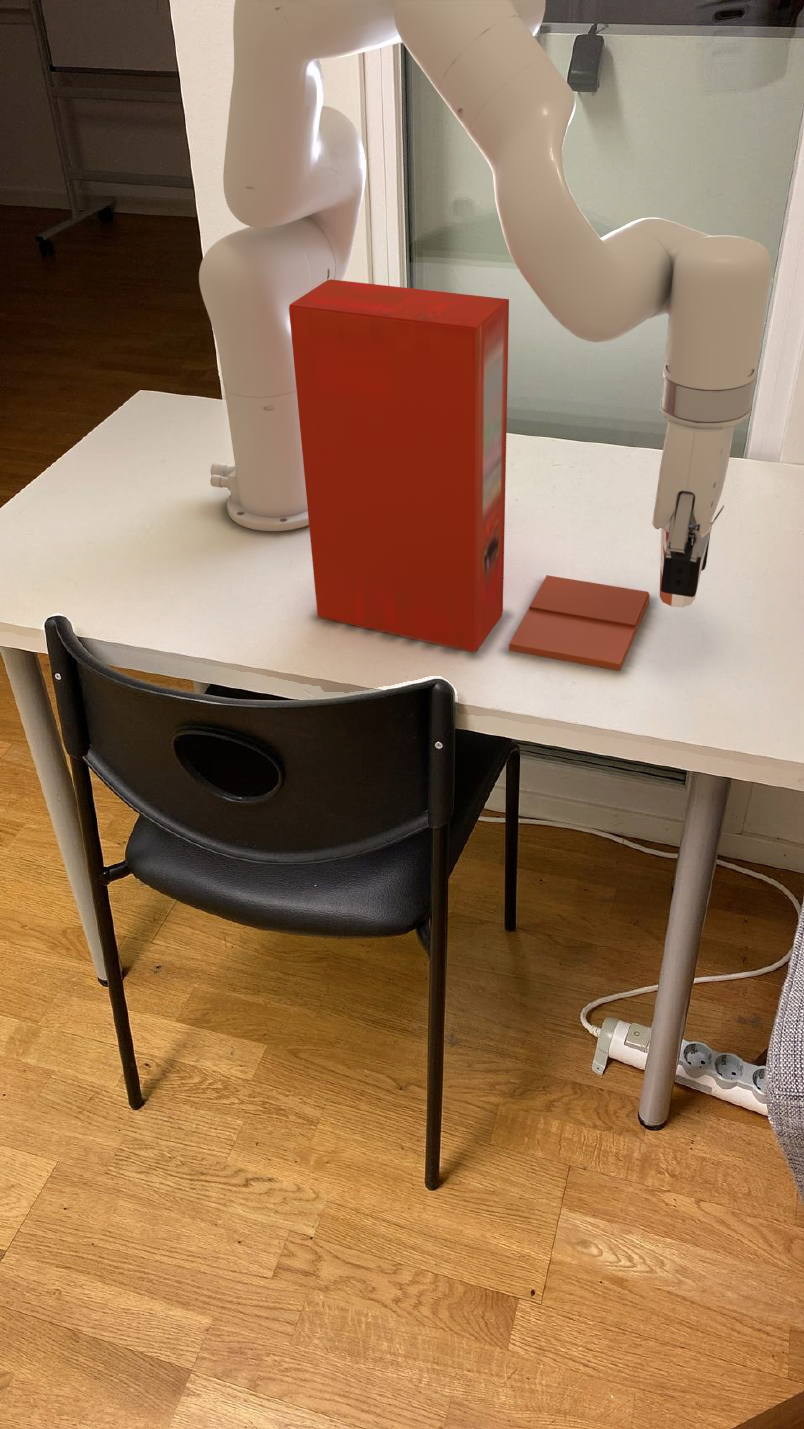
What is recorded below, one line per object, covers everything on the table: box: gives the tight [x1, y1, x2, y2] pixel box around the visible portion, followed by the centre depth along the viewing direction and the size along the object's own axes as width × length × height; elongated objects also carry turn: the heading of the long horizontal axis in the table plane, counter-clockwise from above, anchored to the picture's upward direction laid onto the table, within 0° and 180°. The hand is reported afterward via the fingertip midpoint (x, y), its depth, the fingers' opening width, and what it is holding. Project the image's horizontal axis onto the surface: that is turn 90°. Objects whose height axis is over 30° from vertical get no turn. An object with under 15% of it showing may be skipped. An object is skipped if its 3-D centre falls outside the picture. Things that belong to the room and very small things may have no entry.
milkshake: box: [659, 504, 725, 608], centre depth 109 cm, size 4×5×10 cm
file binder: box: [289, 279, 510, 653], centre depth 111 cm, size 8×17×32 cm, turn 65°
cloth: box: [508, 574, 651, 672], centre depth 118 cm, size 11×13×1 cm
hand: (683, 578), depth 110 cm, fingers closed on milkshake, 4 cm apart
